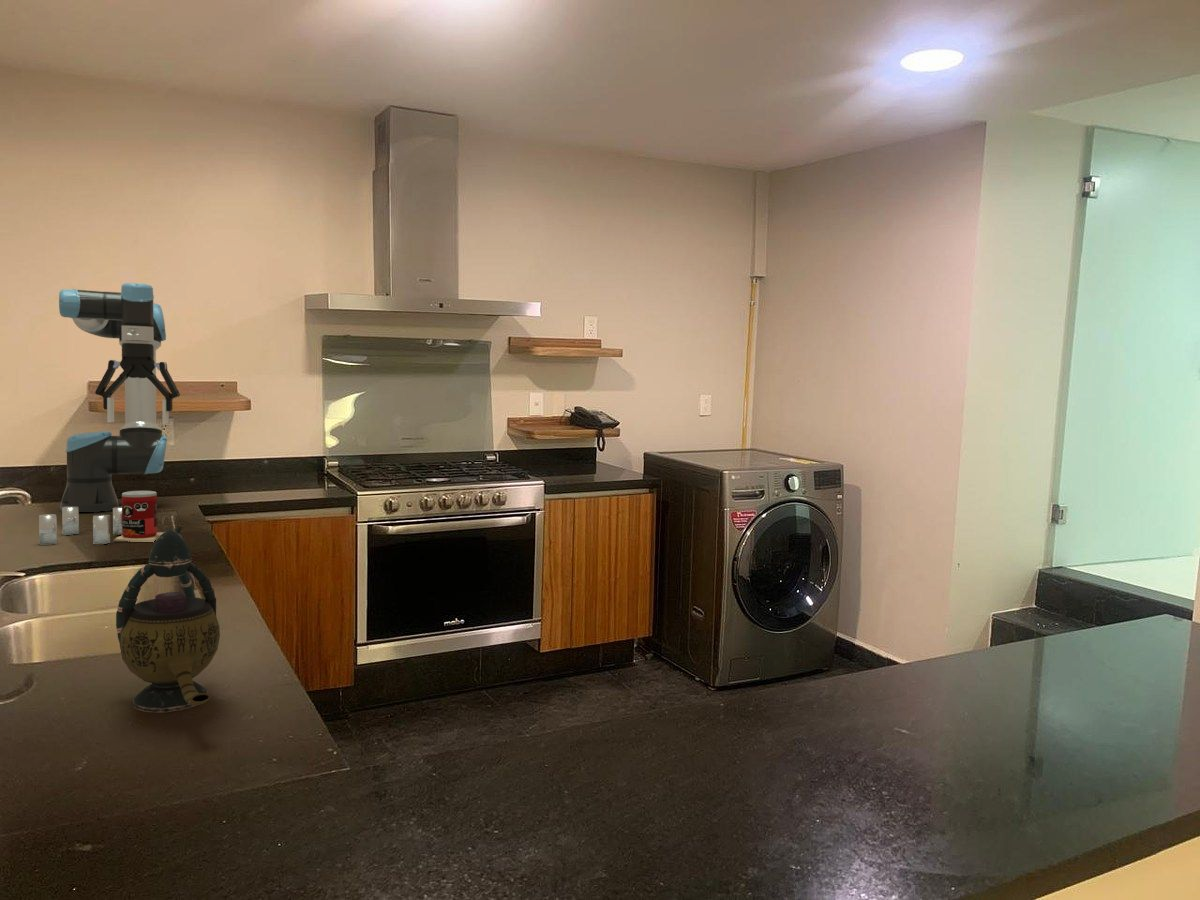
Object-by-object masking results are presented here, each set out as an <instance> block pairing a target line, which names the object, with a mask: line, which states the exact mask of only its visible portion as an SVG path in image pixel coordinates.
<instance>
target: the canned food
mask: <svg viewBox="0 0 1200 900" xmlns="http://www.w3.org/2000/svg"><path fill="white" fill-rule="evenodd" d="M121 507H122V534H123V536H124V537H126V538H147V537H152V536H155V535H156V533H157V532H158V493H157V492H156V491H153V490H129V491H125V492H122V493H121Z"/></svg>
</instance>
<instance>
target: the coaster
mask: <svg viewBox="0 0 1200 900" xmlns="http://www.w3.org/2000/svg"><path fill="white" fill-rule="evenodd" d="M164 532H165V531H162V532H161V531H160V532H159V531H157V533H156V535H155V536H152V537H147V538H126V537H124V536H123V535H121V536H117V537H116V538H114V539H113V542H114V541H128V542H129V541H130V542H153V543H155V542H156V541H155V540H157V539H158V538H159V537H160V535H161V534H163V533H164ZM154 541H155V542H154Z"/></svg>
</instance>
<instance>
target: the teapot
mask: <svg viewBox="0 0 1200 900" xmlns="http://www.w3.org/2000/svg"><path fill="white" fill-rule="evenodd" d="M182 529H183V526H177V528H176V529H175V530H174V529H173V528H171V527H170V528H168V529H167V530H165V531H163V532H164V533H163V534H161V535H160V537H159V538H158V539H157V540H156V541H155V542H153V543H154V544H153V546H152V547H151V550H150V553H149V556H148V563H146V564H145V565H143V566H142V567H140V568H139V570H138V571H136V573H135V574H134V575H133V576H132V577H131V579H130V580H129V582H128V583H127V585H126V587H125V589H124V590H123V593H122V595H121V597H120V599H119V601H118V605H117V610H116V614H115V626H116V633H117V634H116V635H117V640H118V642H119V648H120V653H121V658H122V661H123V662H124V665H126V667H127V669H128V671H130V672H131V673H132V674H134V675H135V676H136V677H138V678H139V679H140V680H142V681H143V682H145V683H150V684H148V685H147V686H146V687H144V688H143V689H142V690H141V691H140V692H139V693H138V694H137V695H136V696H135V697H133V699H132V707H133V708H134V709H136V710H137V711H142V712H145V713H146V712H147V713H169V712H171V713H172V712H177V711H182V710H186V709H190V708H193V707H196V706H200V705H203V704H205V703H206V702H207V701H209V700H211V697H212V695H211V694H210V693H209V691H208V689H207V688H205V687H204V686H202V685H200V684H199V683H198V682H196V681H194V680H193V678H195V677H197V676H199V674H201V673H202V672H203V671H204V670H205V669H206V668H207V667H208V666H209V665H210V664H211V662H212V660H213V659H214V657H215V655H216V653H217V652H218V649H219V643H220V638H221V632H220V631H221V630H220V629H221V628H220V623H219V620H218V618H217V597H216V596H215V595H216V594H215V589H214V588H213V587H212V583H211V580H210V577H209V576H206V574H205V573H204V571H202V569H201V568H200V567H197V566H195V565H194V564H193V563H192V554H191V551H190V548H189V545H188V543H187V541H186V540H185V538H183V537H182V535H181V534H180V533H181V531H182ZM190 574H192V576H194V578H195V579H196V580H197V581H198V583H199V586H200V587H201V589H202V590H201V591H202V595H203V597H204V598H200V597H196V594H195V590H194V586H193V583H192V579H191V576H190ZM153 575H155V576H156V577H159V578H176V577H178V579H179V583H180V585H181V589H182V591H181V592H180V591H170V592H169V591H168V592H162V593H158V594H156V595H155V596H154V598H153V599H148V600H143V601H139V602H138V603H137V601H138V596H139V593H140V591H141V589H142V588H141V587H142V586H143V585H144V584H145V583H146V581H147V580H148V579H149V578H150V577H152V576H153Z"/></svg>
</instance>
